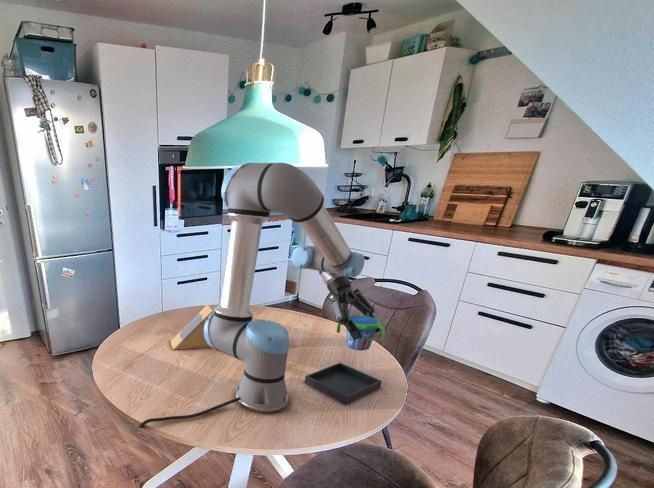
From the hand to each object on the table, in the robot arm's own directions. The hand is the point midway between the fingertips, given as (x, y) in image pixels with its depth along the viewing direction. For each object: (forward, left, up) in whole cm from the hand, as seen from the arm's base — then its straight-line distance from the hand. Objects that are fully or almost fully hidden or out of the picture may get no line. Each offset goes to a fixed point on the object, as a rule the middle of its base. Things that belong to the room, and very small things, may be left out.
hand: (367, 335), depth 131 cm
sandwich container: (-40, +48, -11) cm, 63 cm away
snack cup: (0, +3, -6) cm, 6 cm away
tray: (-18, -5, -11) cm, 22 cm away
